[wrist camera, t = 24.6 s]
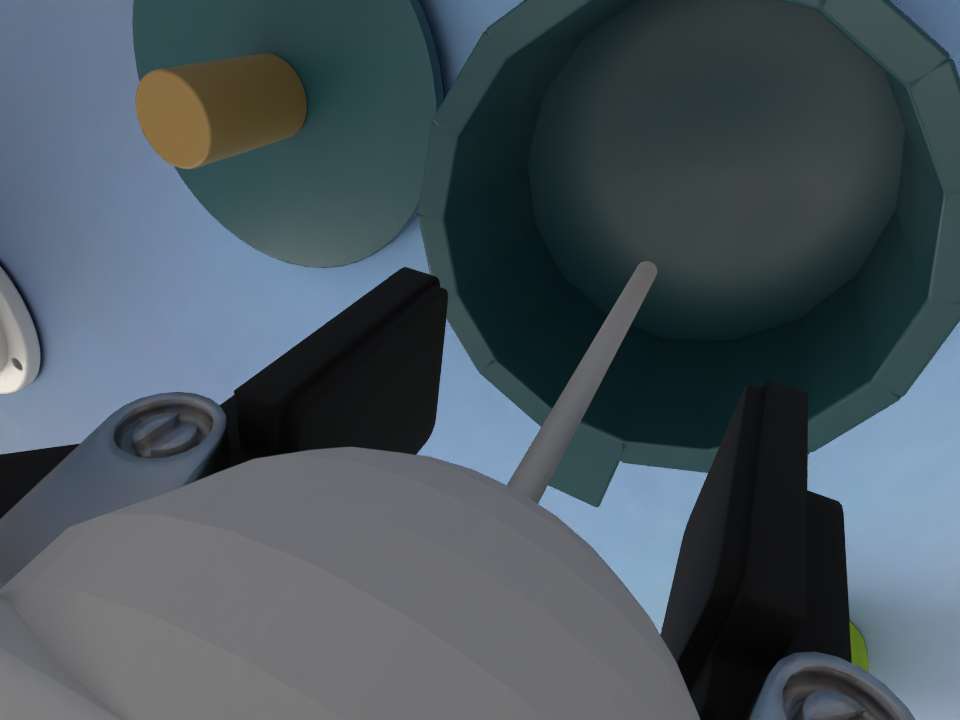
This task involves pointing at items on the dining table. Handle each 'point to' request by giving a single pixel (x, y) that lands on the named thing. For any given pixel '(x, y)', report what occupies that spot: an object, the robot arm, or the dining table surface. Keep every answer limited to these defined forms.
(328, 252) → the pot lid
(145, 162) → the dining table surface
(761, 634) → the robot arm
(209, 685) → the lollipop
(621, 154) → the teal round container
